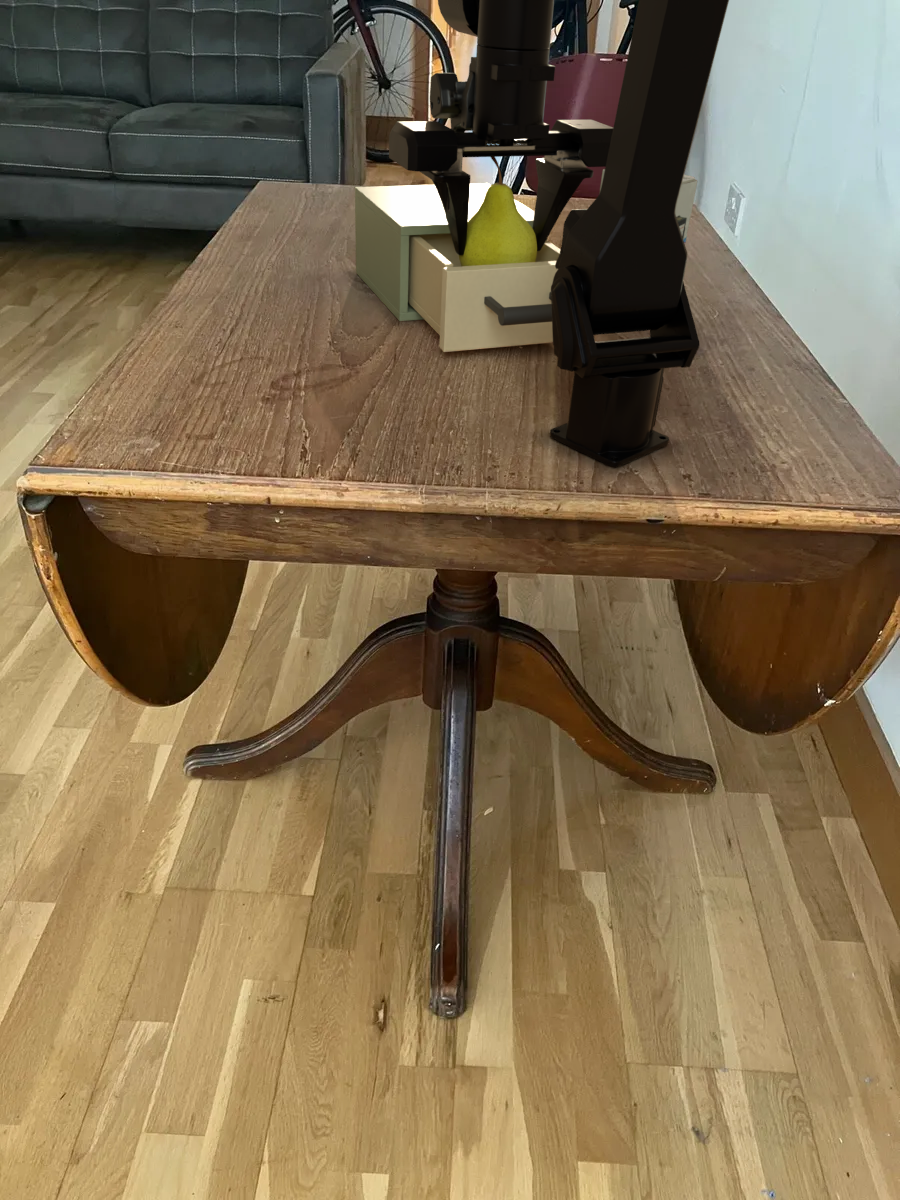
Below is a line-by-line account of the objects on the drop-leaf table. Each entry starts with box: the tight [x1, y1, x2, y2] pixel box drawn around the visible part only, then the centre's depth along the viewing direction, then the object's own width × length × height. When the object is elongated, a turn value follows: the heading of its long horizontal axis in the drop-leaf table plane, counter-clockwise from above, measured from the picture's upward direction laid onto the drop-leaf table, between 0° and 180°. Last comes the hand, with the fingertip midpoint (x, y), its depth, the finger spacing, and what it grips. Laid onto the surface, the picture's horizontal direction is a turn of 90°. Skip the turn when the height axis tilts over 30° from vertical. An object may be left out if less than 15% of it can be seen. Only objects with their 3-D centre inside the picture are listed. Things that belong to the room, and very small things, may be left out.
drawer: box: [408, 233, 561, 353], centre depth 84 cm, size 19×13×7 cm
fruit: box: [459, 157, 537, 266], centre depth 81 cm, size 7×7×12 cm
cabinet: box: [354, 182, 548, 322], centre depth 94 cm, size 16×15×9 cm
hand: (498, 252), depth 82 cm, fingers closed on fruit, 7 cm apart
